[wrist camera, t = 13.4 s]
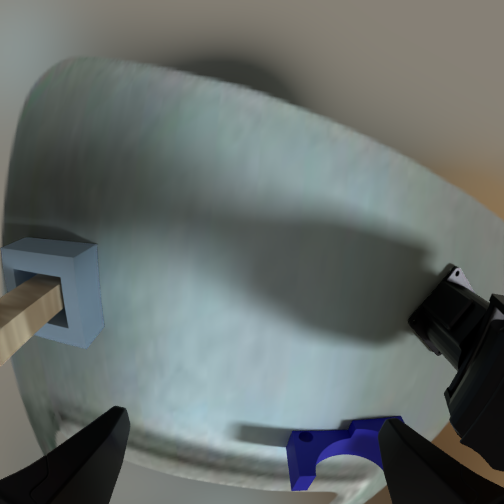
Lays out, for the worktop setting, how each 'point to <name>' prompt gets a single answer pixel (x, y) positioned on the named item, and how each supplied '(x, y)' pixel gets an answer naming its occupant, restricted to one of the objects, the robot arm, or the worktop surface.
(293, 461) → the cable clip
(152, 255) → the worktop surface
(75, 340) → the blue-grey socket block
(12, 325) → the slat
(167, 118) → the worktop surface
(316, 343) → the worktop surface
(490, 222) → the worktop surface
